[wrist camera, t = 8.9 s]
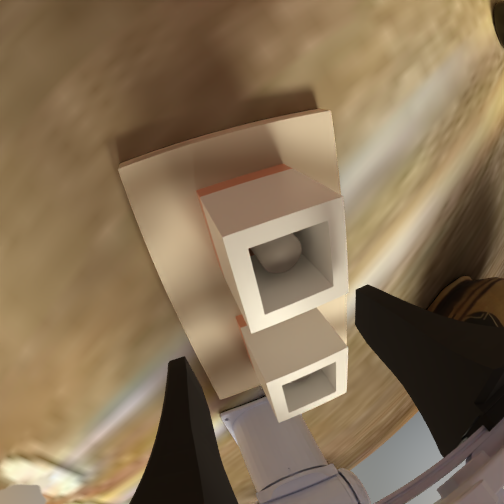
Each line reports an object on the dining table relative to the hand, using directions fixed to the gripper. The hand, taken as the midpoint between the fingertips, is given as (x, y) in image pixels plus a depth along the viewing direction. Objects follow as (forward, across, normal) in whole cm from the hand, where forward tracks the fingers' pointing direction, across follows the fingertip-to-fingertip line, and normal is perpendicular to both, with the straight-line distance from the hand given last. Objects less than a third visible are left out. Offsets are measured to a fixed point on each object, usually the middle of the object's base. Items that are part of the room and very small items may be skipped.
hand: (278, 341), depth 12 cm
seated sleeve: (+8, -2, +7) cm, 11 cm away
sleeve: (+8, -2, -2) cm, 8 cm away
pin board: (+9, -2, +3) cm, 10 cm away
